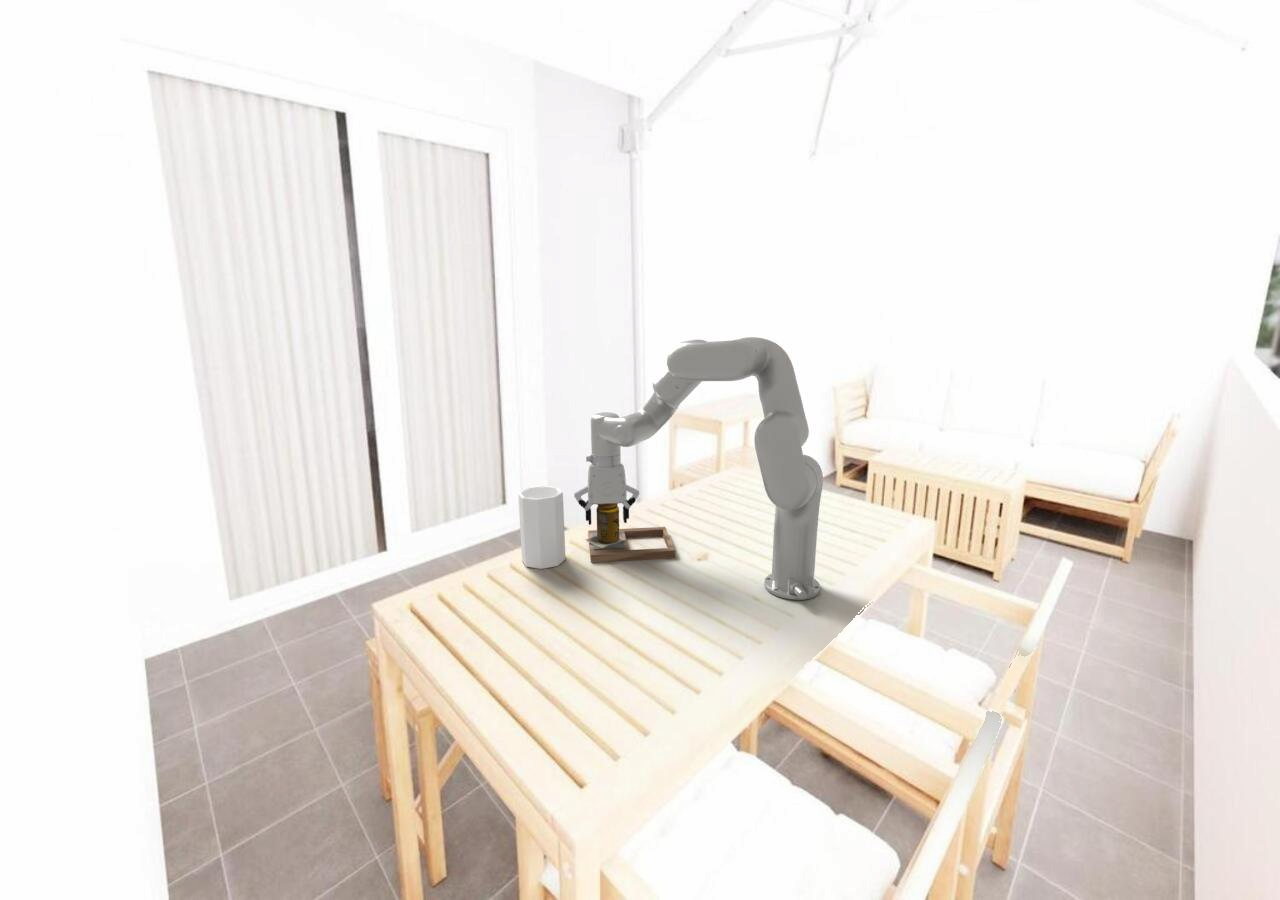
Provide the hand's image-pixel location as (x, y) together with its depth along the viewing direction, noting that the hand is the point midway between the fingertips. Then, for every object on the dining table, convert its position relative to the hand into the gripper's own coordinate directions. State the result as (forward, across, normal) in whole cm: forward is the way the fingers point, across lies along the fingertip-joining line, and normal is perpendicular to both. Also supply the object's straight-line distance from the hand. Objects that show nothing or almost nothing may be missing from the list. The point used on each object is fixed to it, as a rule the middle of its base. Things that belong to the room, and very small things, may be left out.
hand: (607, 522), depth 160 cm
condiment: (+5, -1, 0) cm, 5 cm away
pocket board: (+8, +6, 0) cm, 10 cm away
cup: (+8, -17, -6) cm, 19 cm away
